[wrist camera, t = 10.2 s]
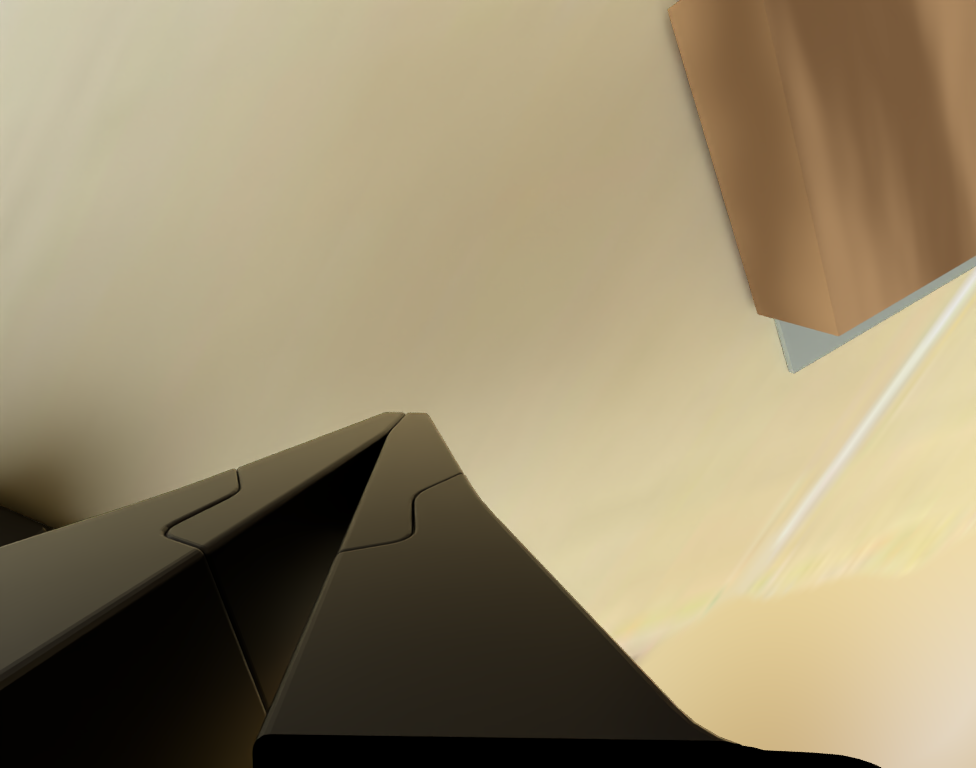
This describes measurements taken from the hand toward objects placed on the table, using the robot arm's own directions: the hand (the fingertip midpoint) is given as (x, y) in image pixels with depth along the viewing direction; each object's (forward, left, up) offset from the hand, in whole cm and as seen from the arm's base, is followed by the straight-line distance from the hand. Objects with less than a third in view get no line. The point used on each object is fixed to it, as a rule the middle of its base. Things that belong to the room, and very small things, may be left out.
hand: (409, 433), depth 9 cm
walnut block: (+12, -6, -7) cm, 15 cm away
